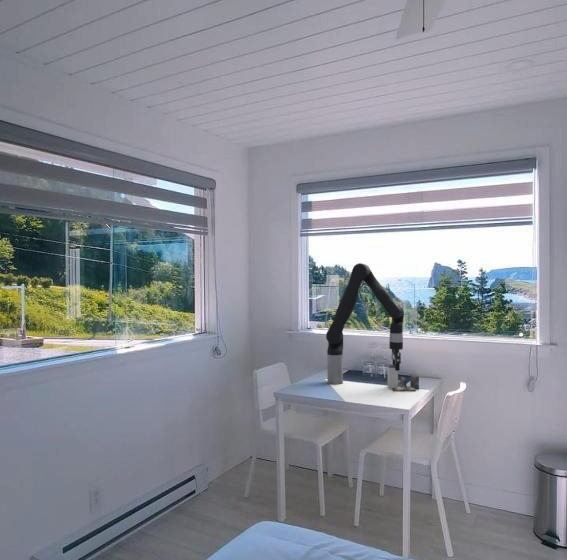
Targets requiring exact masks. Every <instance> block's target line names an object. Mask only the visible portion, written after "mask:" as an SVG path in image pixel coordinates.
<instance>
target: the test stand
mask: <svg viewBox="0 0 567 560" xmlns="http://www.w3.org/2000/svg"><path fill="white" fill-rule="evenodd" d="M409 377H410V378H409V380H410V383H409V385H410V387H407V389H406V388H405V387H398V388H392V391H393V392H416V391H417V390H419V389H420V377H419V375H417V374H416V373H410V374H409Z"/></svg>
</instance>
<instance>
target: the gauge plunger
mask: <svg viewBox="0 0 567 560" xmlns="http://www.w3.org/2000/svg"><path fill="white" fill-rule="evenodd" d="M400 380H401V383H400V384H401V385H402V386H403V388H406V389H407V388H408V384H407V378H405V377H404V376H401V377H400Z"/></svg>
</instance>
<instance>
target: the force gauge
mask: <svg viewBox="0 0 567 560" xmlns="http://www.w3.org/2000/svg"><path fill="white" fill-rule="evenodd" d="M399 384H401V379H400V380H399V371H396V370H395V364H393V363H392V364H391V363H390V364H387V388H388V389H392V388H399Z"/></svg>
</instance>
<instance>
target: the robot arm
mask: <svg viewBox="0 0 567 560" xmlns="http://www.w3.org/2000/svg"><path fill="white" fill-rule="evenodd" d="M362 282H364V283H365V284H366V285H367V286H368V287H369V288H370V290H371V292H372V294H373V295H374V297H375V298H376V299H377V301H378V302H379V303H380V305H382V306H383V309H384V310H385V312H386V313H387V314H388V316H389V317H390V318H391V323H390V325H389V341H388V342H389V349H390V350H391V360H392V364H395V370H396V371H398V372H399V371H400V368H401V367H400V364H401V363H402V361H401V359H402V358H401V357H402V355H401V354H402V353H401V352H400V351H402V350H403V349H404V335H403V325H404V324H403V323H404V317H405V312H404V308H403V307H402V306H401V305H396V303H395V302H394V298H392V296H391V294H389V292H388V291H387V290H386V289H385V288H384V286H383V285H382V284H381V283H380V282H379V281H378V279H377V278H376V277H375V275H374V274H373V272H372V270H371V268H370V267H369V265H367V264H365V263H361V262H360V263H359V262H358V263H356V264H354V266H353V267H352V270H351V273H350V276H349V280H348V283H347V285H346V287H345V290H344V291H343V293H342V296H341V298H340V301H339V304H338V306H337V308H336V312H335V315H334V318H333V320H332V322H331V324H330V327H329V328H328V330H327V331H326V335H325V337H326V341H327V342H328V343H327V345H328V346H327V349H326V352H327V353H326V354H327V355H326V356H327V358H326V361H327V362H326V363H327V365H326V369H327V371H326V372H327V373H326V376H327V377H326V379H327V380H326V381H327V384H331V385H340V384H343V383H344V382H343V381H344V377H343V375H344V371H343V369H344V368H343V367H344V366H343V359H344V357H343V356H344V355H343V354H344V353H343V351H344V333H343V331H344V328H345V325H346V324H347V322H348V320H349V319H350V317H351V315H352V314H353V312H354V310H355V308H356V305H357V303H358V302H357V301H358V299H359V291H360V287H361V285H362Z"/></svg>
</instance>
